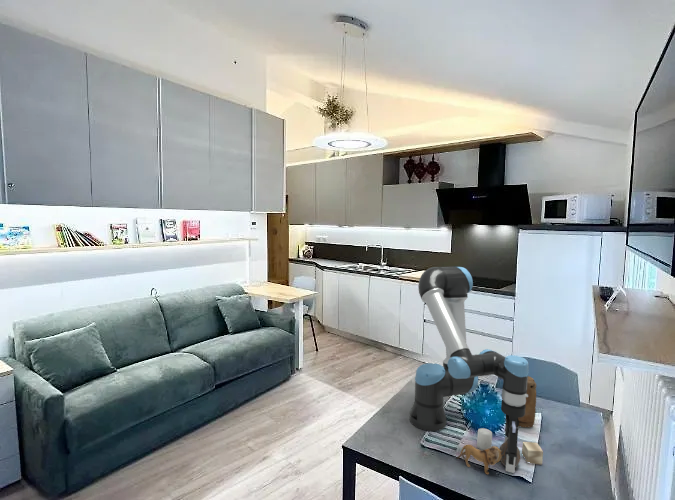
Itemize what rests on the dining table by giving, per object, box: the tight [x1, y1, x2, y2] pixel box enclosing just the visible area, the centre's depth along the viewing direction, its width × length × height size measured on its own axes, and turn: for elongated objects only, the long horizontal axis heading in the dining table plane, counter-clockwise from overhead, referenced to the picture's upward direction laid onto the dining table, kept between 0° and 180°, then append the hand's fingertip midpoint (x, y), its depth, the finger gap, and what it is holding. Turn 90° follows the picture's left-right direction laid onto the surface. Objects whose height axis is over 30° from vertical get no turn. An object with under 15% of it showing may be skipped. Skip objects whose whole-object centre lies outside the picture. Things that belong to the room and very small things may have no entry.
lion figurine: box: [455, 444, 502, 475], centre depth 130 cm, size 15×5×9 cm, turn 63°
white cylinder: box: [476, 427, 493, 451], centre depth 142 cm, size 5×5×6 cm
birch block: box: [521, 441, 544, 465], centre depth 135 cm, size 5×5×5 cm
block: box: [518, 375, 537, 428], centre depth 158 cm, size 11×8×20 cm
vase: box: [498, 439, 521, 468], centre depth 132 cm, size 7×7×9 cm
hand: (508, 462), depth 133 cm, fingers open, 9 cm apart
